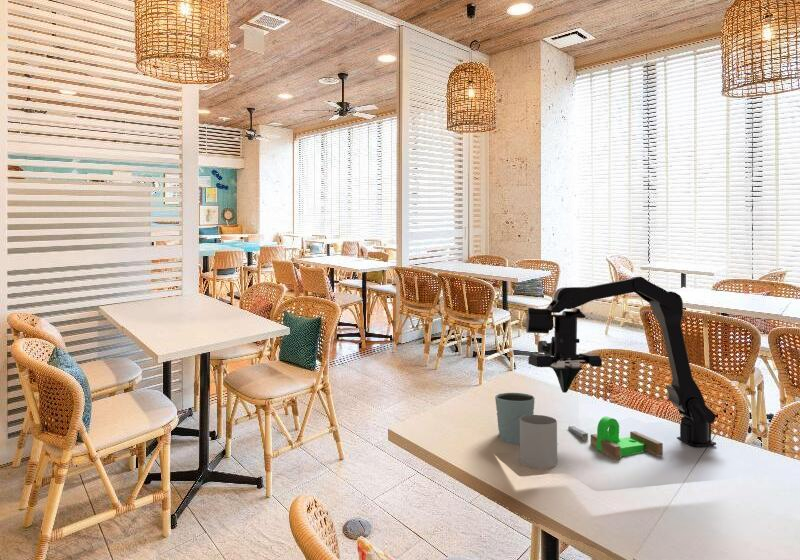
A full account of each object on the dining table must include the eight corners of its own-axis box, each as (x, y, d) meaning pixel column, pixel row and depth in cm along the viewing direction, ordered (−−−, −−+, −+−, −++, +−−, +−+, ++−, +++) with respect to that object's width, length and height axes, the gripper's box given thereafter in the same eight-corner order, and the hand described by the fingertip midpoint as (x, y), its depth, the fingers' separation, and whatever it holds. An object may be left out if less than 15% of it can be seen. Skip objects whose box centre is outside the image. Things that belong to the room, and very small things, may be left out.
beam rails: (635, 442, 130) (635, 431, 130) (662, 455, 120) (662, 443, 120) (590, 446, 127) (590, 434, 127) (615, 459, 118) (614, 446, 118)
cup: (557, 458, 119) (557, 416, 119) (556, 470, 111) (556, 426, 111) (521, 454, 121) (521, 413, 122) (518, 466, 114) (517, 422, 114)
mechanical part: (616, 456, 119) (618, 423, 119) (596, 449, 124) (597, 417, 124) (649, 452, 124) (651, 420, 124) (628, 444, 130) (630, 414, 130)
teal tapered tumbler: (539, 448, 126) (538, 400, 126) (499, 448, 126) (499, 400, 126) (529, 435, 136) (529, 392, 136) (492, 435, 136) (492, 392, 136)
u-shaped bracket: (572, 434, 137) (572, 425, 137) (589, 444, 129) (589, 434, 129) (532, 437, 134) (532, 428, 134) (546, 447, 127) (546, 437, 127)
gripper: (580, 331, 142) (579, 385, 142) (520, 331, 139) (518, 386, 139) (603, 335, 131) (602, 394, 131) (538, 335, 128) (537, 395, 128)
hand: (564, 392), depth 133 cm, fingers closed
